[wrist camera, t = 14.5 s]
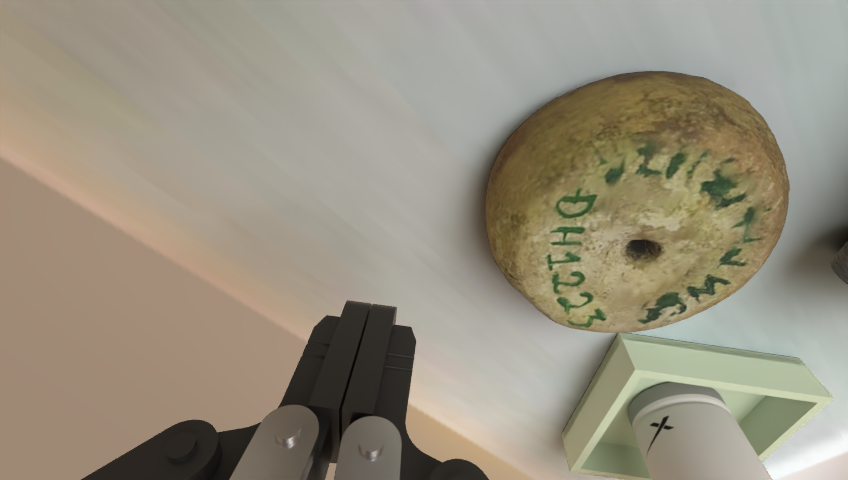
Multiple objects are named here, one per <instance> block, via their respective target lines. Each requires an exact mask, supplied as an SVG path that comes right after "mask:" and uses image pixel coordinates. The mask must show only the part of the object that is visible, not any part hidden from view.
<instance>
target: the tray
mask: <svg viewBox="0 0 848 480" xmlns="http://www.w3.org/2000/svg"><path fill="white" fill-rule="evenodd" d="M668 382H677V383H684V384H691V385H698V386H705V387H711V388H713V389H715V390H716V391H717V392H718V393H719V394H720V395H721V397H722V399H723V400H724V402H725V404H726V405H727V407H728V408H729V410H730V412H731V414H732V415H733V417H734V418H735V420H736V421H737V423H738V425H739V426H740V428H741V430H742V431H743V433H744V434H745V436H746V438H747V439H748V441H749V443H750V444H751V446H752V447H753V449H754V451H755V452H756V454H757V456H758V457H759V459H760V460H761V462H763V461H764V460H765V459H766V458H767V457H768V456H770V455H771V454H772V453H773V452H774V451H775V450H776V449H777V448H779V447H780V446H781V445H782V444H783V443H784V442H785V441H787V440H788V439H789V438H790V437H791V436H792V435H793V434H794V433H796V432H797V431H798V430H799V429H800V428H801V427H802V426H804V425H805V424H806V423H807V422H808V421H809V420H810V419H811V418H813V417H814V416H815V415H816V414H817V413H818V412H819V411H821V410H822V409H823V408H824V407H825V406H826V405H827V404H828V403H830V402H831V401H832V400H833V399H834V397H833V396H832V395H831V394H830V393H829V392H828V390H827V389H826V388H825V387H824V386H823V385H822V384H821V382H820V381H819V380H818V379H817V378H816V377H815V376H814V374H813V373H812V372H811V371H810V370H809V369H808V368H807V366H806V365H805V364H804V363H803V362H802V361H801V360H800V359H799V358H794V357H787V356H780V355H773V354H767V353H760V352H753V351H746V350H739V349H732V348H725V347H718V346H711V345H705V344H698V343H691V342H684V341H677V340H670V339H663V338H656V337H650V336H643V335H636V334H629V333H618V335H617V336H616V338H615V340H614V342H613V343H612V345H611V347H610V349H609V351H608V352H607V354H606V356H605V358H604V359H603V361H602V363H601V365H600V367H599V368H598V370H597V372H596V374H595V375H594V377H593V379H592V381H591V383H590V384H589V386H588V388H587V390H586V392H585V393H584V395H583V397H582V399H581V400H580V402H579V404H578V406H577V408H576V409H575V411H574V413H573V415H572V416H571V418H570V420H569V422H568V424H567V425H566V427H565V429H564V431H563V432H562V438H563V443H564V447H565V452H566V456H567V461H568V466H569V470H570V472H576V473H583V474H590V475H597V476H604V477H611V478H618V479H625V480H652V479H651V477H650V474H649V471H648V469H647V466H646V463H645V461H644V458H643V455H642V453H641V450H640V447H639V445H638V442H637V439H636V436H635V434H634V432H633V429H632V426H631V424H630V421H629V418H628V409H629V407H630V404H631V403H632V401H633V400H634V399H635V398H636V397H637V396H638V395H639V394H641V393H642V392H644V391H645V390H647V389H649V388H651V387H654V386H657V385H660V384H663V383H668Z"/></svg>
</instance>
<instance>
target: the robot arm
mask: <svg viewBox="0 0 848 480" xmlns="http://www.w3.org/2000/svg"><path fill="white" fill-rule="evenodd" d="M396 311H397V307H392V306H385V305H377V304H373V305H372V304H369V303H362V302H355V301H347V302H346V304H345V306H344V309H343V312H342V314H341V317H335V316H328V315H327V316H326V317H324V318H323V319H322V320H321V321H320V322H319V323H318V324H317V325H316V326H315V327H314V329H313V331H312V333H311V336H310V338H309V340H308V344H307V345H306V347H305V349H304V352H303V356H302V357H301V359H300V361H299V363H298V365H297V368H296V370H295V372H294V375H293V377H292V379H291V381H290V384H289V386H288V388H287V390H286V393H285V395H284V397H283V400H282V402H281V403H280V405H279V407H278V408H277V409H276V410H274V411H272V412H271V413H269V414H268V415H267V416H266V417H265V418H264V419H263V420H262V422H260V423H258V424H256V425H253V426H250V427H247V428H242V429H235V430H229V431H223V432H218V433H217V432H216V430H215V428H214V427H213V426H212V425H211V424H210V423H208V422H205V421H202V420H187V421H184V422H180V423H178V424H175V425H173V426H171V427H170V428H168V429H166V430H164V431H163V432H161V433H159V434H158V435H156V436H154V437H153V438H151V439H149V440H148V441H146V442H144V443H142V444H141V445H139V446H137V447H136V448H134V449H132V450H131V451H129V452H127V453H125V454H124V455H122V456H120V457H119V458H117V459H115V460H113V461H112V462H110V463H108V464H107V465H105V466H103V467H102V468H100V469H98V470H97V471H95V472H93V473H92V474H90V475H88V476H86V477H85V478H83V479H81V480H325V477H326V474H327V470H328V467H329V463H337V466H336V471H335V476H334V480H489V479H488V478H487V476H486V475H485V474H484V473H483V471H482V470H481V469H480V468H479V467H477V466H476V465H474V464H473V463H471V462H469V461H466V460H462V459H451V460H447V461H445V462H443V463H442V462H440V461H438V460H436V459H434V458H432V457H430V456H429V455H427V454H425V453H423V452H421V451H420V450H419V449H418V448H417V447H416V446H415V445H414V444H413V443H412V441H411V440H410V438H409V436H408V434H407V430H406V425H405V419H406V412H407V405H408V398H409V390H410V383H411V376H412V368H413V361H414V354H415V346H416V339H415V337H414V334H413V331H412V328H411V327H407V326H400V325H395V322H396Z"/></svg>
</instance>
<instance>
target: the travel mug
mask: <svg viewBox="0 0 848 480" xmlns="http://www.w3.org/2000/svg"><path fill="white" fill-rule="evenodd" d="M628 418H629V421H630V424H631V426H632V429H633V432H634V434H635V436H636V439H637V442H638V445H639V447H640V450H641V453H642V455H643V458H644V461H645V463H646V466H647V469H648V471H649V474H650V477H651V479H652V480H772V478H771V477H770V475H769V473H768V472H767V470H766V469H765V467H764V465H763V464H762V462H761V460H760V459H759V457H758V456H757V454H756V452H755V451H754V449H753V447H752V446H751V444H750V443H749V441H748V439H747V438H746V436H745V434H744V433H743V431H742V430H741V428H740V426H739V425H738V423H737V421H736V420H735V418H734V417H733V415H732V414H731V412H730V410H729V408H728V407H727V405H726V404H725V402H724V400H723V399H722V397H721V395H720V394H719V393H718V392H717V391H716V390H715V389H713V388H711V387H705V386H698V385H691V384H684V383H677V382H668V383H663V384H660V385H657V386H654V387H651V388H649V389H647V390H645V391H644V392H642V393H641V394H639V395H638V396H637V397H636V398H635V399H634V400H633V401H632V403H631V404H630V407H629V409H628Z"/></svg>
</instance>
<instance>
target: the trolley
mask: <svg viewBox="0 0 848 480" xmlns="http://www.w3.org/2000/svg"><path fill="white" fill-rule="evenodd" d="M830 264H831V267H832V269H833V271H834V272H835V273H836V274H837V275H838V276H839V277H840V278H841V279H842V280H843V281H844V282H845V283H846V284H848V241H847V242H846V243H845V244H844V245H843V247H842V248H841V249H840V250H839V251H838V252H837V254H836V255H835V256H834V257H833V258H832V259H831V262H830Z"/></svg>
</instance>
